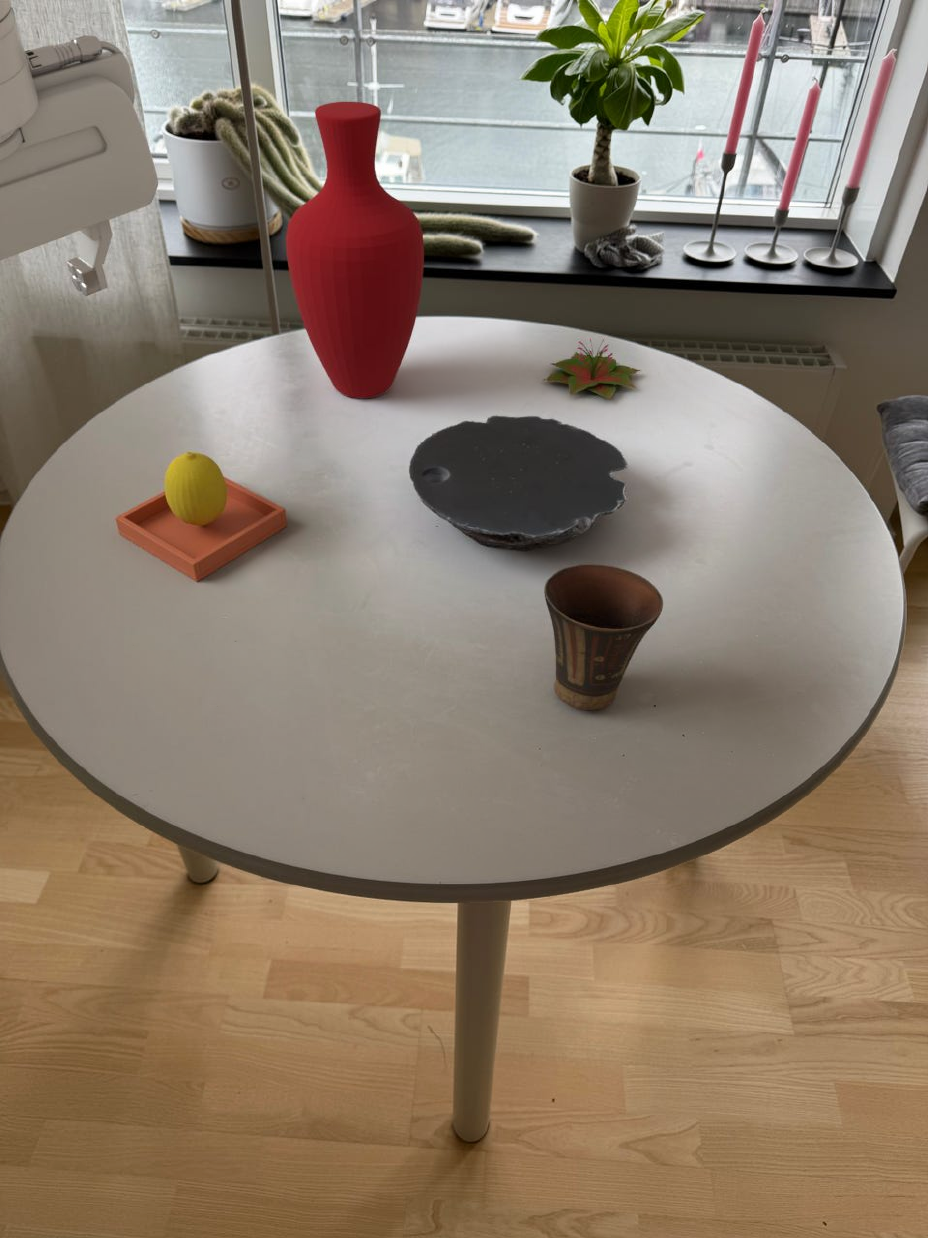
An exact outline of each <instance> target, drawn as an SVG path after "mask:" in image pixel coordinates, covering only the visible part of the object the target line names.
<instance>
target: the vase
mask: <svg viewBox="0 0 928 1238" xmlns="http://www.w3.org/2000/svg"><path fill="white" fill-rule="evenodd" d="M314 115H315V120H316V124H317V127H318V131H319V134H320V138H321V139H320V140H321V143H322V147H323V151H324V156H325V161H326V178H325V181H324V184H323V186H322V188H321V189H320V191H318V193H316V194H315V195H314V196H313V197H312V198H311V199H308V200H307V201H306V202H305V203H304V204H302V205H301V206H300V207H298V208H296V210H295V211H294V213H292V215H291V217H290V219H289V221H288V223H287V224H288V225H287V230H286V236H285V248H286V258H287V259H286V260H287V265H288V271H289V276H290V281H291V285H292V290H293V294H294V298H295V301H296V304H297V306H298V311H299V313H300V317H301V320H302V323H303V325H304V328H305V329H304V330H305V331H306V334H307V336H308V338H309V341H310V343H311V345H312V348H313V350H314V352H315V354H316V356H317V358H318V360H319V362H320V364H321V366H322V367H323V370H324V371H325V373H326V375H327V376H328V377H327V378H329V381H330V383H331V384H332V385H333V387H334V389H335V390H336V391H337V392H339V393H340V394H341V395H343V396H345V397H349V398H355V399H370V398H375V397H378V396H381V395H384V394H385V393H386V392H388V391H389V390H390V389H391V388H392V386H393V384H394V382H395V379H396V377H397V374H398V372H399V370H400V367H401V365H402V362H403V360H404V357H405V355H406V352H407V349H408V347H409V344H410V341H411V337H412V335H413V331H414V327H415V324H416V320H417V316H418V311H419V305H420V300H421V293H422V286H423V277H424V267H425V266H424V264H425V245H424V235H423V229H422V226H421V223H420V220H419V219H418V217H417V216H416V214H415V213H414V211H413V210H412V209H411V208H410V207H409V206H407V204H405V203H403V202H402V201H400V199H397V198H396V197H394V196H392V195H391V194H390V193H388V192H387V191H386V189H384V187H383V186H382V185H381V183H380V181H379V179H378V176H377V171H376V151H377V144H378V137H379V130H380V123H381V116H382V112H381V109H380V107H379V106H377V105H376V104H375V105H374V104H372V103H368V102H362V101H335V102H328V103H325V104H321V105H319V106H317V107H316V108H315V110H314Z"/></svg>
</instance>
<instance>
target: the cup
mask: <svg viewBox="0 0 928 1238" xmlns="http://www.w3.org/2000/svg"><path fill="white" fill-rule="evenodd" d="M543 591H544V592H543V594H544V599H545V602H546V606H547V610H548V613H549V615H550V620H551V625H552V631H553V639H554V651H555V654H554V655H555V679H554V687H553V689H554V693H555V695H556V697H557V698H558V699H559V700H561V701H562V702H563V703H565V704H566V705H568V706H570V707H572V708H575V709H579V710H583V711H595V710H600V709H603V708H606V707H608V706H609V705H611V704H612V703H613V701H614V700H615V698H616V695H617V692H618V688H619V686H620V684H621V682H622V679H623V678H624V675H625V673H626V670H627V669H628V666H629V665H630V662H631V661H632V658H633V656H634V654H635V653H636V650H637V649H638V646H639V645H640V643H641V642H642V640H643V638H644V637H645V635H646V634H647V633H648V631H649V630H650V629H651V628H652V627H653V626H654V625H655V623H656V622H657V620H658V619H659V618H660V616H661V614H662V611H663V608H664V599H663V596H662V594H661V592H660V591H659V589H658V588H657V587H656V586H655V585H654V584H652V582H650V581H649V580H647V579H646V578H644V577H643V576H641V575H639V574H637V573H635V572H633V571H630V570H627V569H624V568H621V567H617V566H613V565H606V564H605V565H604V564H594V563H585V564H584V563H583V564H580V563H579V564H576V565H571V566H570V565H569V566H567V567H563V568H561V569H559V570H556V572H554V573H553V574H551V576H550V577H549V578H548V579H547V580H546V582H545V585H544V588H543Z"/></svg>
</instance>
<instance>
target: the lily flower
mask: <svg viewBox="0 0 928 1238" xmlns="http://www.w3.org/2000/svg"><path fill="white" fill-rule="evenodd" d="M604 341H605V338H604V339H603V340H602V341H601V343H600V345H599V347H598V350H597V352H596V355H595V356H593V354H594V349H593V348H591V349H589V350H588V348H587V347H586V346H585V345H584V343H583V342H582V341H578V343H579V344H580V345H581V346H583V347H584V349H585V350H586V351H585V350H584V349H583V348H582V347H579V346H578V347H577V350H580V351H582V352H583V353H582V352H577V351H576V352H575V353H574V354H573V355H572V356H571V358H566V359H563V360H559V361H556V362H553V363H550V365H552V366H555V367H557V368H559V369H560V370H557V371H555V372H552V373H551V374H549V376H547V378H544V379H542V380H541V381H543V382H553V383H561V384H566V385H568V389H569V391H570V392H569V397H571V396H573V395H574V394H575V395H576V394H577V393H579V392H580V391H583V390H585V389H586V390H588V391H590V392H592V393H595V394H597V395H599V396H600V397H603V398H605V399H606V400H609V401H611V399H612V397H613V395H614V394H615V392H616V385H620V386H624V387H628V388H633V389H638V388H637V386H635V385H634V383H633V382H632V380H631V378H630V377H631V376H632V375H634V374H637V373H638V372H641V371H642V369H637V368H634V367H630V366H628V365H622V364H621V365H619V364H618V365H617V360H616V359H615V358H613V357H612V356H613V354H614V353H613V352H611V353H609V354H608V356H603V354H604V353H606V352H608V351H609V348H608V347H609V345H610V344H609V343H608V344H606V345H604V347H603V349H601V351H600V348H601V346H602V344H603V342H604ZM589 342H590V346H591V347H593V344H592V339H591V338H589Z"/></svg>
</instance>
